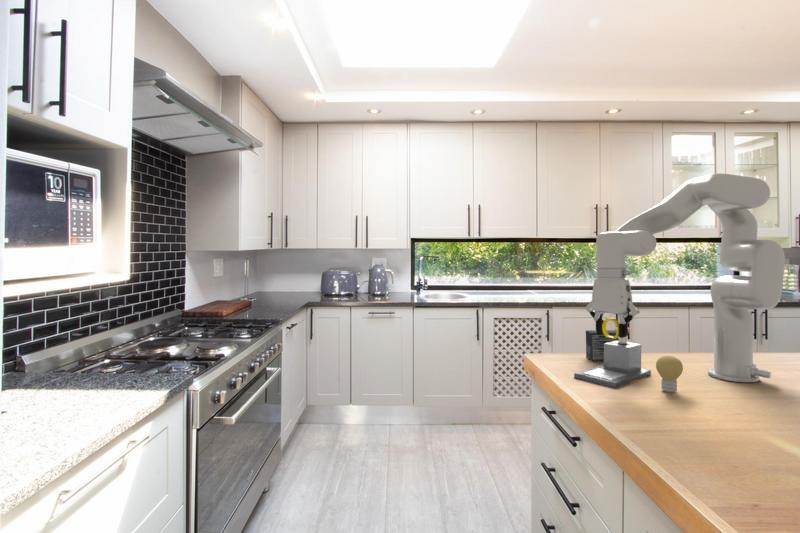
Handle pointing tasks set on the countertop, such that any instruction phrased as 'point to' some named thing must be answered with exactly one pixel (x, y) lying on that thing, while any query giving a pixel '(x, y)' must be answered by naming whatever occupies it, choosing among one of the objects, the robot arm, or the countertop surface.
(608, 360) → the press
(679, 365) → the light bulb
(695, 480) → the countertop surface
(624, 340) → the light orange ellipsoid
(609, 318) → the watch
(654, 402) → the countertop surface
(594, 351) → the small box
